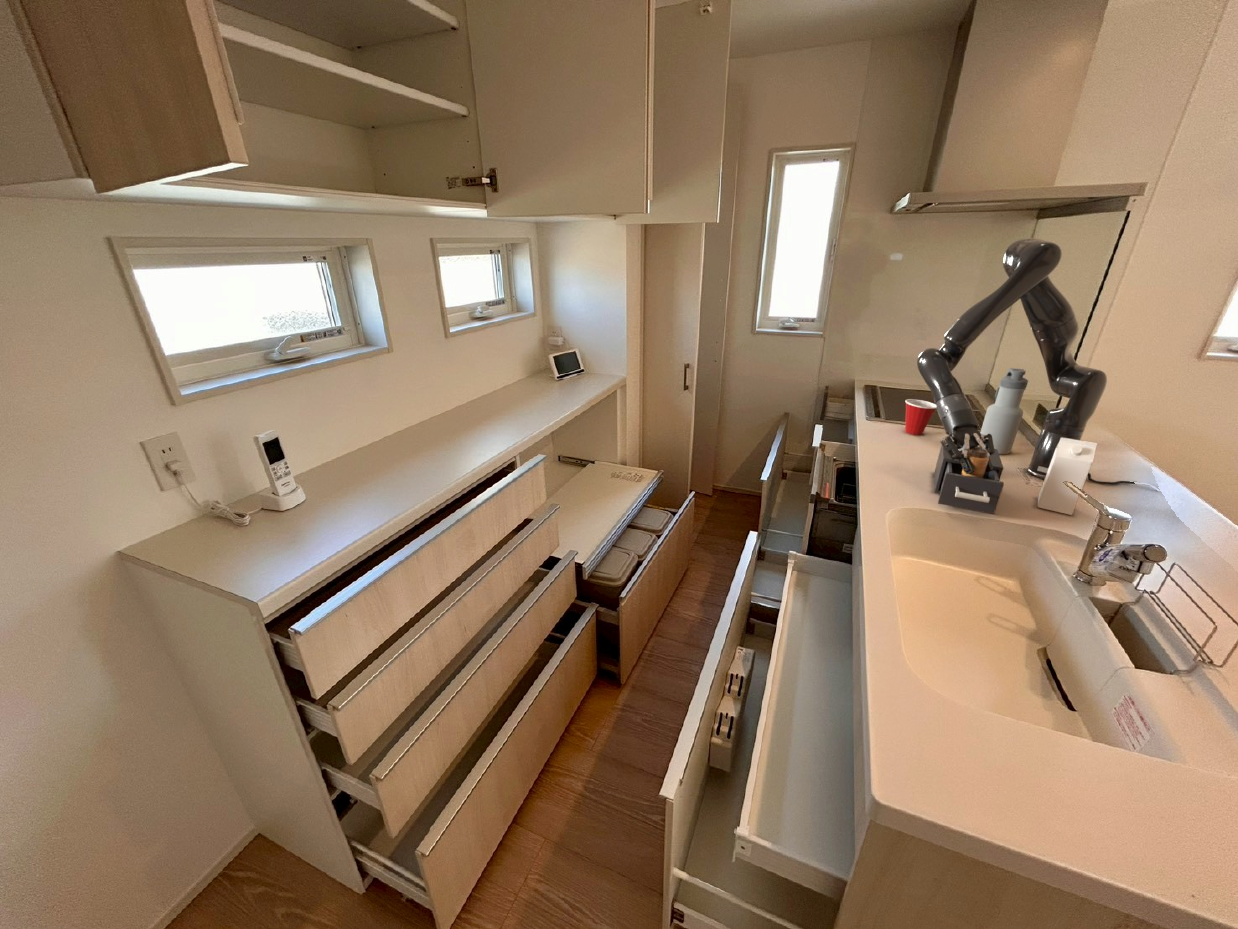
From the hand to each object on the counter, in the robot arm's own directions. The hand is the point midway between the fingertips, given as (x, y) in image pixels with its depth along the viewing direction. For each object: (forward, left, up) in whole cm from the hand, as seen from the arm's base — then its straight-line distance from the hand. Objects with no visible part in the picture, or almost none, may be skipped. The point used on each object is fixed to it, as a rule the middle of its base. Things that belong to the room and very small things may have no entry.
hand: (979, 472), depth 129 cm
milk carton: (-20, -12, -11) cm, 26 cm away
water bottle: (-10, -55, -11) cm, 57 cm away
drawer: (+1, -1, -10) cm, 10 cm away
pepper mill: (+1, -1, -4) cm, 5 cm away
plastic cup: (+14, -62, -11) cm, 64 cm away
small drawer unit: (+1, -14, -11) cm, 18 cm away
